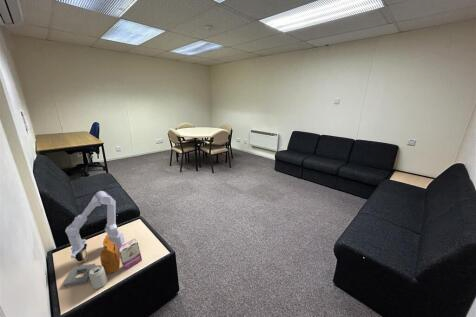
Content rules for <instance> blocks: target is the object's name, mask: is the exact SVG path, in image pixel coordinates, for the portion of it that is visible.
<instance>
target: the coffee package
mask: <svg viewBox="0 0 476 317" xmlns="http://www.w3.org/2000/svg"><path fill="white" fill-rule="evenodd" d="M109 237H110V236H108V235H106V236H105V238H104V239H103V242H102V244H103V248H102V250H101V252H100V255H99V259H100V264H101V266H103V267H104V270H105V273H106V275H108V274H111V273H113V272H117V271H118V270H120V265H121V259H120V255H119V252H118V249H117V246H116V244H115V243H113V242H112V241H110V240H109Z"/></svg>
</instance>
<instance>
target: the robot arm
mask: <svg viewBox="0 0 476 317" xmlns="http://www.w3.org/2000/svg"><path fill="white" fill-rule="evenodd" d="M116 204H117V201H116V200H115V199H114V198H113V197H112V196H111V195H110V194H109V193H108V192H107V191H104V190H99V191H97V192H96V193H95V194H94V196H93V197H92V199H91V200H90V202H89V203H88V205H87V206H86V207H85V208H84V209H83V212H82V213H81V214H78V215H77V216H75V217H74V218H73V219H74V220H72V223H70V224H69V225H68V226H67V227H66V228H65V231H64V232H65V234H66V235H67V238H68V241H69V244H70V245H71V246H70V247H71V248H70V250H71V255H70V258H71V259H75V260H76V259H77V260H78V261H82V252H81V253H79V251H80V250H82V249H86V250H87V246H88V243H86V242H87V240H86V238H84V239H82V237H81V235H80V234H81V233H80V229H81V228H82V226H84V224H85V223H86V221H87V220H88V216H90V214H91V213H92V212H93V210H94V209H96V207H100V206H102V205H106V214H107V216H106V222H107V223H106V224H105V227H104V232H105V233H106V234H107V235H108V236H110V237H109V240H110V241H112V242H113V243H115V244H116V246H117V248H118V247H120V246H122V245H123V244H125V240H126V239H125V237H124V233H123V232H122V233H121V232H119V230H118V225H117V222H116V220H117V217H116V216H117V215H116V214H117V213H116V212H117V208H116V207H117V206H116ZM77 260H76V261H77Z"/></svg>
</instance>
